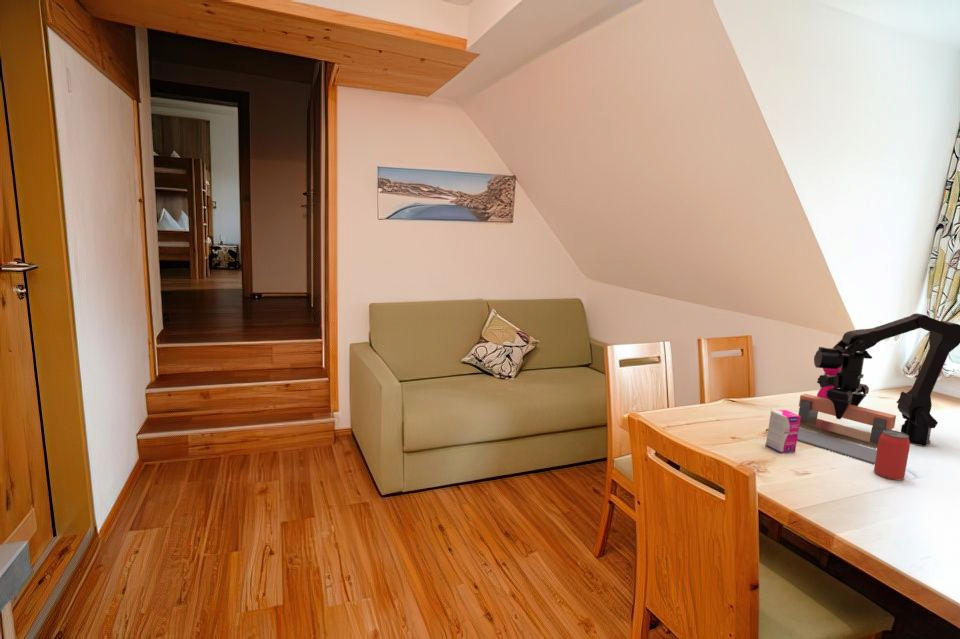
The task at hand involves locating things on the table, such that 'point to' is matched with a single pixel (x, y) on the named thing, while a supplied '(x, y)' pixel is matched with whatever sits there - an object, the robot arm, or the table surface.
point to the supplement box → (783, 431)
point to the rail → (849, 411)
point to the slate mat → (837, 445)
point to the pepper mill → (823, 389)
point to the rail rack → (840, 427)
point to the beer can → (892, 454)
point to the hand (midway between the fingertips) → (844, 416)
